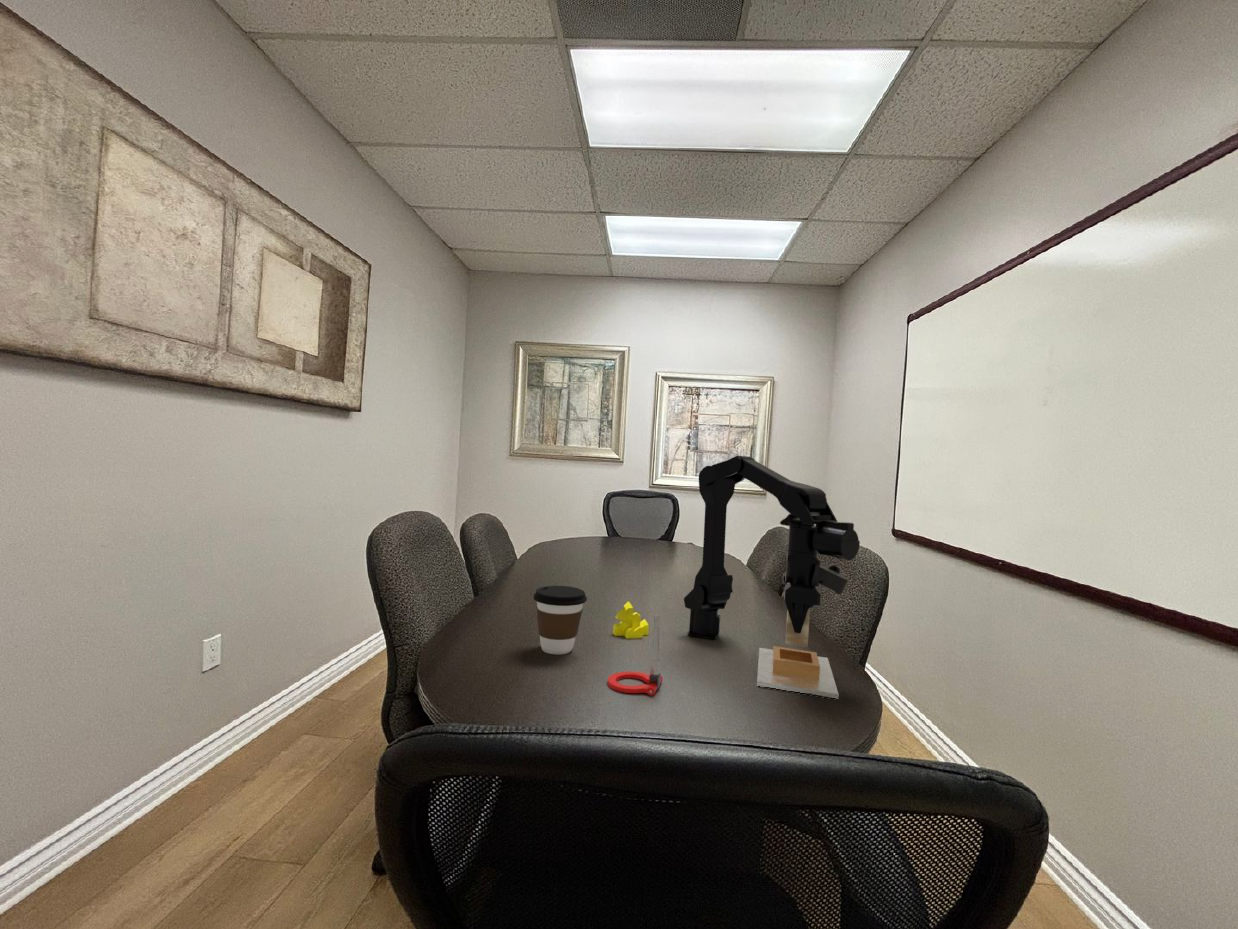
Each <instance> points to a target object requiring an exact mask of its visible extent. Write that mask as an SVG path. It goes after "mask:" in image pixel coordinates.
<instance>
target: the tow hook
mask: <svg viewBox="0 0 1238 929" xmlns="http://www.w3.org/2000/svg"><path fill="white" fill-rule="evenodd" d="M651 644H652V645H651V646H652V647H651V648H652V649H651V659H650V674H647V673H644V672H639V671H620V672H615V673H613V674H611V675H609V676H608V678H607V686H608V687H609V688H610V689H612V690H613V691H616V692H619V693H626V694H641V693H643V694H647V695H648V696H650V697H652V696H655V694H656V692H657V691H658V689H659V688H660V686H661V684H662V682H663V676H662V675H661V671H660V668H661V664H660V663H661V660H660V658H659V656H660V627H659V615H658V614H655V615H653V627H652V643H651ZM625 679H637V680H641V681H643V682H645V683H646V684H645V683H643V684H638V685H627V684H622V683H620V682H618V681H620V680H625Z"/></svg>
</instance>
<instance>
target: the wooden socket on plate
mask: <svg viewBox="0 0 1238 929" xmlns="http://www.w3.org/2000/svg"><path fill="white" fill-rule="evenodd" d="M758 648H759V649H758V662H757V676H756V677H757V678H756V687H758V686H760V688H764V687H770V688H776V689H782V690H787V691H786V692H788V691H795V692H800V693H812V694H816V695H822V696H828V697H832V698H836V699H838V700H839V695H840V694H839V691H838V688H837V685H836V682H835V678H834V674H833V671H832V668H831V665H830V661H829V658H828V657H824V656H818V653H817V652H815V651H809V650H801V649H795V648H789V647H781V646H777V645H776V646H775V645H773V648H772V649H771V648H764V647H758ZM770 688H769V689H770ZM776 689H775V690H776ZM782 690H781V691H782ZM800 693H799V694H800ZM836 699H835V700H836Z"/></svg>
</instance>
